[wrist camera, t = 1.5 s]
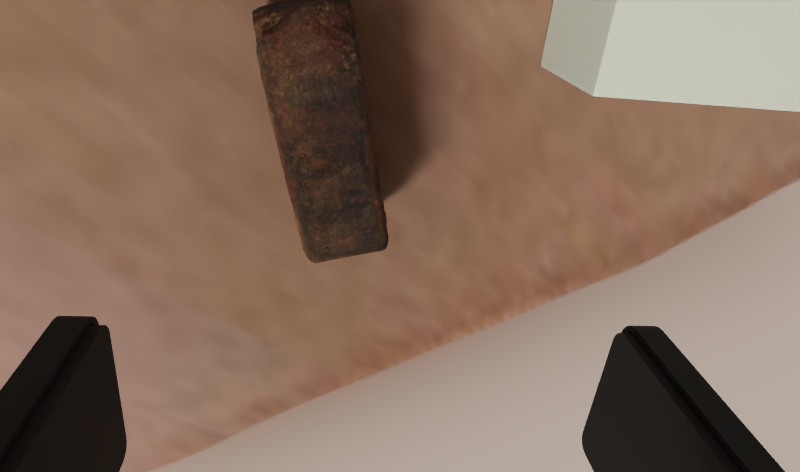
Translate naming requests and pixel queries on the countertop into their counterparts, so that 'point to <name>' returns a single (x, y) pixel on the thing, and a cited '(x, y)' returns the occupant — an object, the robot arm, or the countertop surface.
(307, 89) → the brick
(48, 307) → the countertop surface
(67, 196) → the countertop surface
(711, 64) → the sage block
